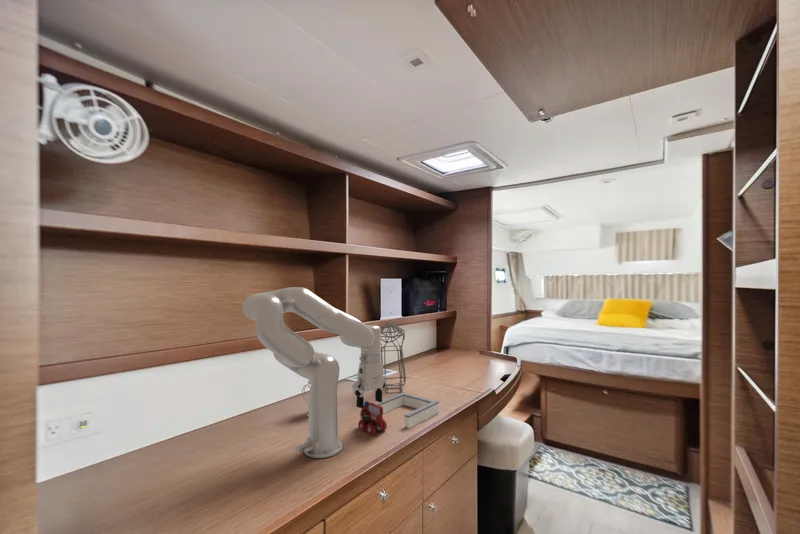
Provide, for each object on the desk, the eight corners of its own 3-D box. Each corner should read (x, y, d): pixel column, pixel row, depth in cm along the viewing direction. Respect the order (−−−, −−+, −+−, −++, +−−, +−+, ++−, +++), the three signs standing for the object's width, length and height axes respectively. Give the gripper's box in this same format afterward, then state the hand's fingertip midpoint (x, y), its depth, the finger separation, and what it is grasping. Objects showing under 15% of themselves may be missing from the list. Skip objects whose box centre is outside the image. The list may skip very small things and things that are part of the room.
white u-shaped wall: (409, 428, 132) (408, 416, 132) (372, 415, 145) (371, 404, 145) (439, 412, 147) (438, 401, 147) (403, 402, 160) (402, 392, 160)
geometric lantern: (408, 395, 170) (404, 324, 171) (376, 396, 170) (373, 325, 171) (408, 385, 186) (405, 320, 187) (379, 386, 186) (375, 321, 187)
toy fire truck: (369, 423, 138) (369, 396, 138) (389, 432, 129) (389, 404, 129) (355, 428, 133) (354, 400, 134) (375, 438, 124) (374, 409, 124)
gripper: (360, 362, 123) (359, 412, 122) (393, 356, 136) (392, 401, 135) (346, 359, 128) (345, 407, 127) (379, 354, 141) (378, 397, 140)
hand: (369, 404), depth 131 cm, fingers open, 9 cm apart
